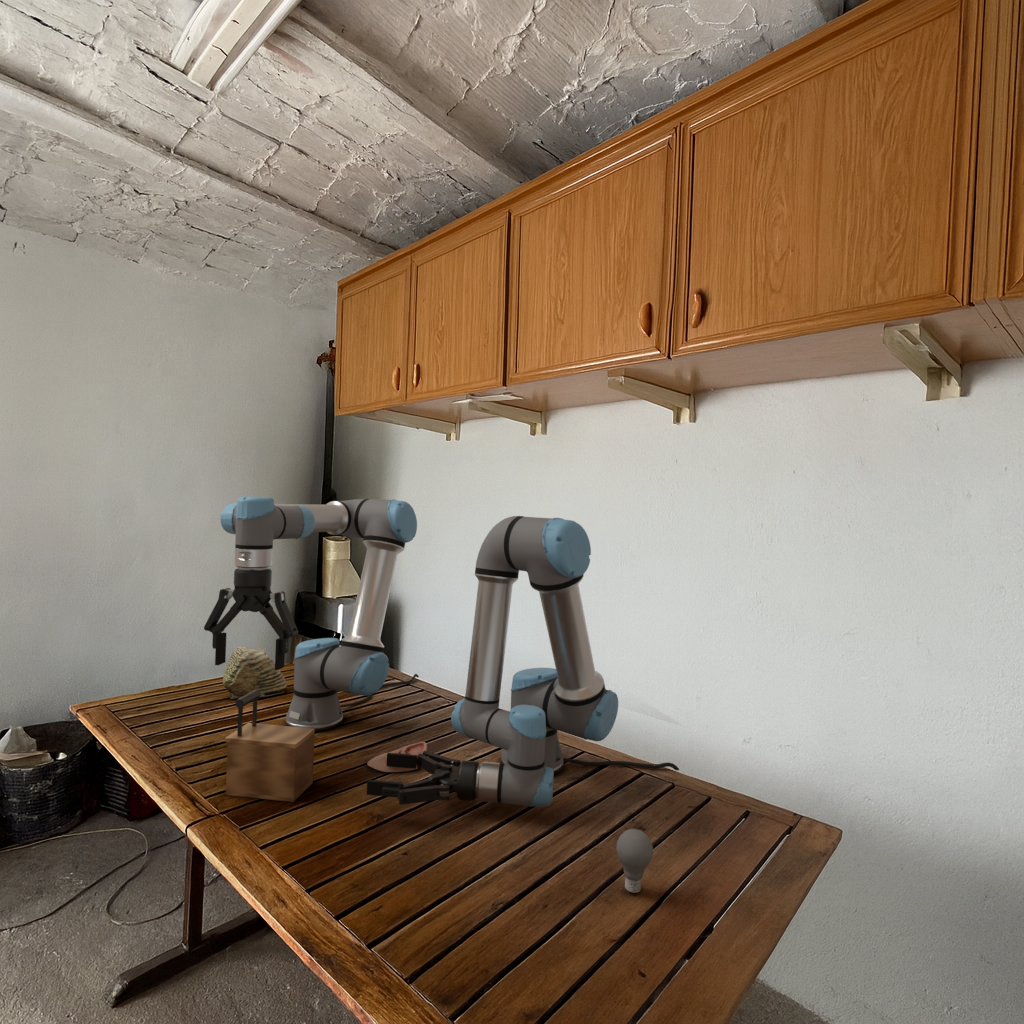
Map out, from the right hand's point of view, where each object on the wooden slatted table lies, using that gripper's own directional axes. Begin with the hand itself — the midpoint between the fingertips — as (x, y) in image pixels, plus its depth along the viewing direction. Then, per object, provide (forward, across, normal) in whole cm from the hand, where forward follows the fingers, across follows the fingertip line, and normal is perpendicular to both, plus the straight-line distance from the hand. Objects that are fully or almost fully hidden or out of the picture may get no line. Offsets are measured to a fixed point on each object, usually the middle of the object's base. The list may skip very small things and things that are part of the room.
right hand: (377, 772), depth 132 cm
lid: (+24, +2, +5) cm, 25 cm away
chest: (+24, +2, -6) cm, 25 cm away
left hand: (+30, +2, +20) cm, 36 cm away
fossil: (+58, +61, -6) cm, 84 cm away
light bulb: (-51, -22, -6) cm, 56 cm away
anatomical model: (+1, +20, -6) cm, 21 cm away
